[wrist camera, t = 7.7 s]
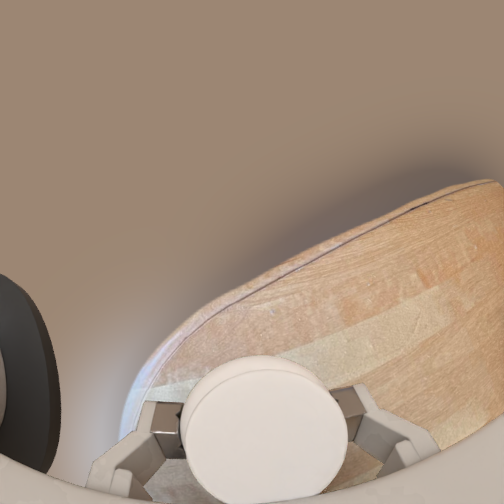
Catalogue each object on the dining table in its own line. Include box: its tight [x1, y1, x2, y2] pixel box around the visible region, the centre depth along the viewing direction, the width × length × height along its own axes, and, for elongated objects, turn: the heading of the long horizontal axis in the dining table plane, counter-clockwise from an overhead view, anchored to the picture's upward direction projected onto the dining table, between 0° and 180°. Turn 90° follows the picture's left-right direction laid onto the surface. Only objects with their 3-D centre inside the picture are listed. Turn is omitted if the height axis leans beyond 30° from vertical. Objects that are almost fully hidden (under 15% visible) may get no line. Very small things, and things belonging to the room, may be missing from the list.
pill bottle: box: [180, 355, 348, 504], centre depth 10 cm, size 5×5×10 cm
